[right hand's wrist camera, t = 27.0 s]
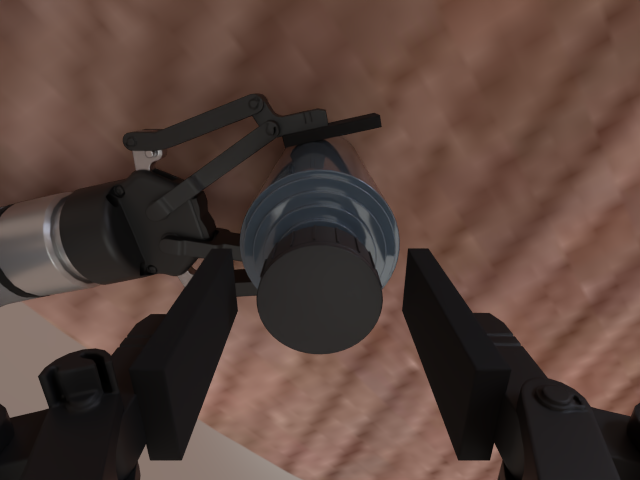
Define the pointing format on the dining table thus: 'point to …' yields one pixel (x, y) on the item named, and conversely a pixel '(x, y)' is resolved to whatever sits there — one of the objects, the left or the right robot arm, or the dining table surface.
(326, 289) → the cap
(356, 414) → the dining table surface
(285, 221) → the bottle
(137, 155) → the left robot arm
